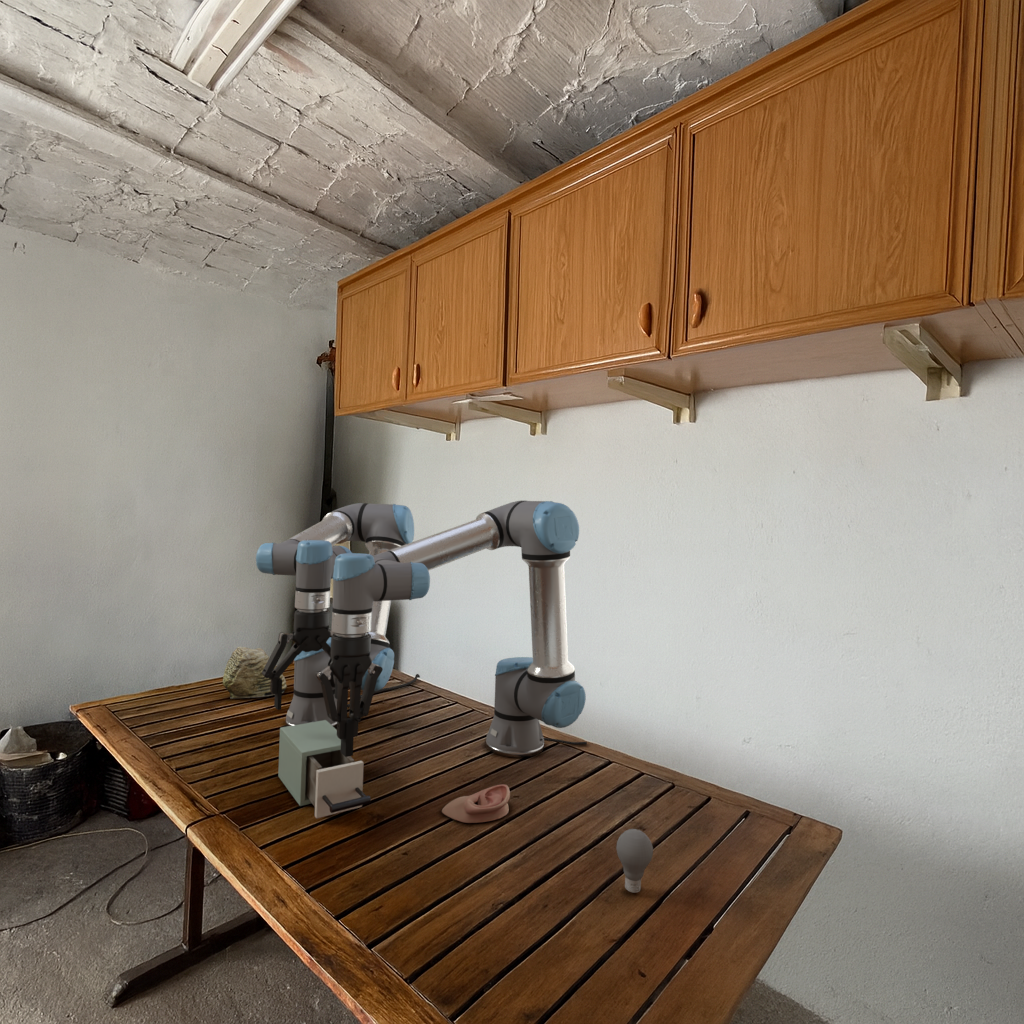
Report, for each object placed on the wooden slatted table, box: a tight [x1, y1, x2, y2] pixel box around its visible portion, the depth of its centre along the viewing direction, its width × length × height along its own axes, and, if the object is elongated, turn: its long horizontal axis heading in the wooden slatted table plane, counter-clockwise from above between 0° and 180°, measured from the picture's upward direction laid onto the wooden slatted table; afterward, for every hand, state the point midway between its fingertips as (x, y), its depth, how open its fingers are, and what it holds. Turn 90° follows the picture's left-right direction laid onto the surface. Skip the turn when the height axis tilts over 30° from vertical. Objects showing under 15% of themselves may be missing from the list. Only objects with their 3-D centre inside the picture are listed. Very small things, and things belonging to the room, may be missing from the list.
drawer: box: [305, 750, 372, 819], centre depth 129 cm, size 21×9×9 cm, turn 36°
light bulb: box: [615, 828, 654, 894], centre depth 106 cm, size 6×6×10 cm
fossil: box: [222, 646, 288, 699], centre depth 198 cm, size 9×18×15 cm, turn 132°
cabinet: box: [277, 720, 341, 807], centre depth 139 cm, size 16×10×11 cm, turn 36°
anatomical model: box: [441, 784, 511, 824], centre depth 131 cm, size 13×4×12 cm
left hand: (308, 703), depth 142 cm, fingers open, 13 cm apart
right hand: (346, 753), depth 123 cm, fingers closed
